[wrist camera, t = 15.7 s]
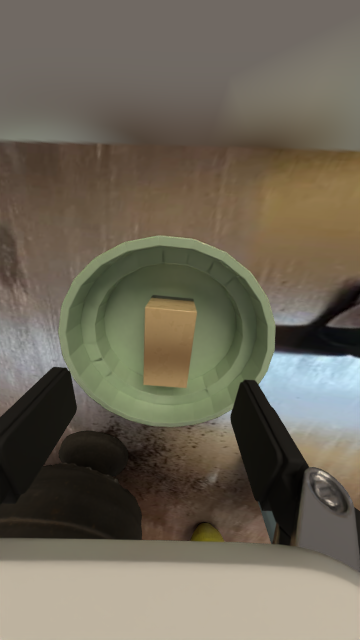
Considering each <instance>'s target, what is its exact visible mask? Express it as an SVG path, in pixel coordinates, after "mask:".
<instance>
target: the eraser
mask: <svg viewBox="0 0 360 640" xmlns="http://www.w3.org/2000/svg"><path fill="white" fill-rule="evenodd" d="M196 317H197V310H196V307H195V303H194V299H191V298H180V297H170V296H159V295H152V297H151V299H150V300H149V302H148V303H147V305H146V307H145V326H144V375H143V385H151V386H165V387H178V388H187V381H188V374H189V367H190V360H191V353H192V345H193V338H194V331H195V324H196Z"/></svg>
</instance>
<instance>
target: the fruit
mask: <svg viewBox="0 0 360 640" xmlns="http://www.w3.org/2000/svg"><path fill="white" fill-rule="evenodd" d="M190 541H204V542H224V540H223V538H222V536H221V534H220V533H219V531H218V530H217V529H215V528H214V527H213V526H212V525H211V524H209V523H201V524H200V525H198V527H197V528H196V529H195V531H194V533H193V535H192V537H191V540H190Z"/></svg>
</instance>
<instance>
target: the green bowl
mask: <svg viewBox="0 0 360 640" xmlns="http://www.w3.org/2000/svg"><path fill="white" fill-rule="evenodd" d="M152 295H159V296H170V297H180V298H191V299H194V303H195V307H196V310H197V317H196V324H195V331H194V338H193V345H192V353H191V360H190V367H189V374H188V381H187V388H178V387H165V386H151V385H143V375H144V326H145V307H146V305H147V303H148V302H149V300H150V299H151V297H152ZM58 334H59V339H60V345H61V350H62V355H63V358H64V360H65V362H66V364H67V366H68V368H69V370H70V372H71V374H72V376H73V378H74V380H75V381H76V382H77V383H78V384H79V385H80V387H81V388H82V389H83V390H84V391H85V392H86V394H87V395H88V396H89V397H90V398H92V399H93V400H94V401H96V402H97V403H98V404H100V405H101V406H102V407H104V408H105V409H106V410H108V411H110V412H112V413H114V414H116V415H118V416H121V417H123V418H125V419H127V420H129V421H133V422H137V423H141V424H145V425H149V426H160V427H180V426H188V425H195V424H199V423H202V422H205V421H209V420H212V419H215V418H218V417H220V416H221V415H223V414H225V413H227V412H229V411H230V410H232V409H233V406H234V402H235V399H236V395H237V392H238V388H239V385H240V382H243V380H245V379H246V380H255V381H256V382H257V383H258V384H259V383H260V382H261V380H262V379H263V377H264V376H265V374H266V372H267V370H268V367H269V364H270V361H271V359H272V356H273V353H274V349H275V321H274V318H273V314H272V311H271V307H270V303H269V300H268V297H267V296H266V294H265V293H264V291H263V290H262V288H261V286H260V285H259V283H258V282H257V280H256V279H255V277H254V276H253V274H252V273H251V272H250V271H249V270H247V269H246V268H245V267H244V266H243V265H241V264H240V263H239V262H238V261H236V260H235V259H234V258H233V257H232V256H230V255H229V254H228V253H226V252H224V251H222V250H220V249H217V248H215V247H212V246H210V245H207V244H205V243H203V242H200V241H198V240H194V239H189V238H179V237H169V236H153V237H148V238H143V239H138V240H132V241H127V242H125V243H122V244H120V245H118V246H116V247H114V248H112V249H110V250H108V251H107V252H105V253H103V254H101V255H99V256H97V257H96V258H94V259H93V260H92V261H91V262H90V263H89V264H88V265H87V266H86V267H85V268H84V270H83V271H82V272H81V273H80V274H79V275H78V276H77V277H76V278H75V279H74V281H73V282H72V284H71V286H70V289H69V291H68V293H67V295H66V297H65V299H64V301H63V303H62V306H61V313H60V321H59V330H58Z"/></svg>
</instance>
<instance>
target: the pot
mask: <svg viewBox="0 0 360 640" xmlns="http://www.w3.org/2000/svg"><path fill="white" fill-rule="evenodd" d="M59 458H60V460H61V462H62V463H59V464H55V465H48V466H42V468H41V470H40V471H39V473H38V475H37V476H36V478H35V479H34V481H33V483H32V484H31V486H30V487H29V489H28V490H27V491H26V493H24V494H21V496H20V498H19V499H18V501H17V502H16V504H1V505H0V538H45V539H111V540H142V529H141V519H142V515H141V510H140V507H139V505H138V503H137V501H136V498H135V497H134V496H133V495H131V493H130V492H129V491H128V490H127V489H124V488H123V487H122V486H121V485H120V484H119V482H118V480H117V479H114V478H113V476H116V475H117V474H119V473H120V472H121V471H122V470H123V469H124V467H125V466H126V464H127V461H128V451H127V449H126V447H125V446H124V444H123V443H122V442H121V441H119V440H118V439H117V438H116V437H115V438H114V437H112V436H111V435H108V434H105V433H101V432H95V431H81V432H77V433H74V434H71V435H69V436H68V437H66V439H64V441H63V442H62V444H61V447H60V450H59Z"/></svg>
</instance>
